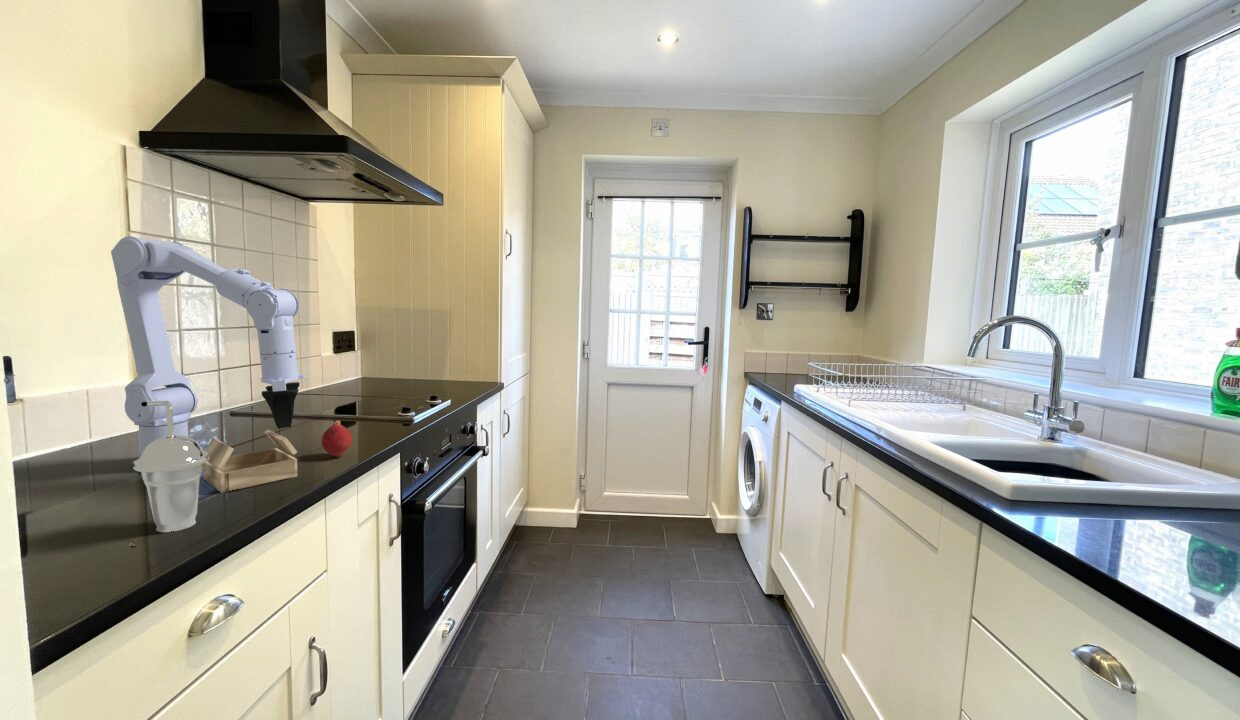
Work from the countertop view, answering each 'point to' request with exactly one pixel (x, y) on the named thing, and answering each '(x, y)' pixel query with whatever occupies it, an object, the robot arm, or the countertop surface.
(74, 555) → the countertop surface
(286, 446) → the flap
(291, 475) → the carton
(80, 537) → the countertop surface
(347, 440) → the red rounded oval piece
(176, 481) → the cup with straw
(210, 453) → the flap
